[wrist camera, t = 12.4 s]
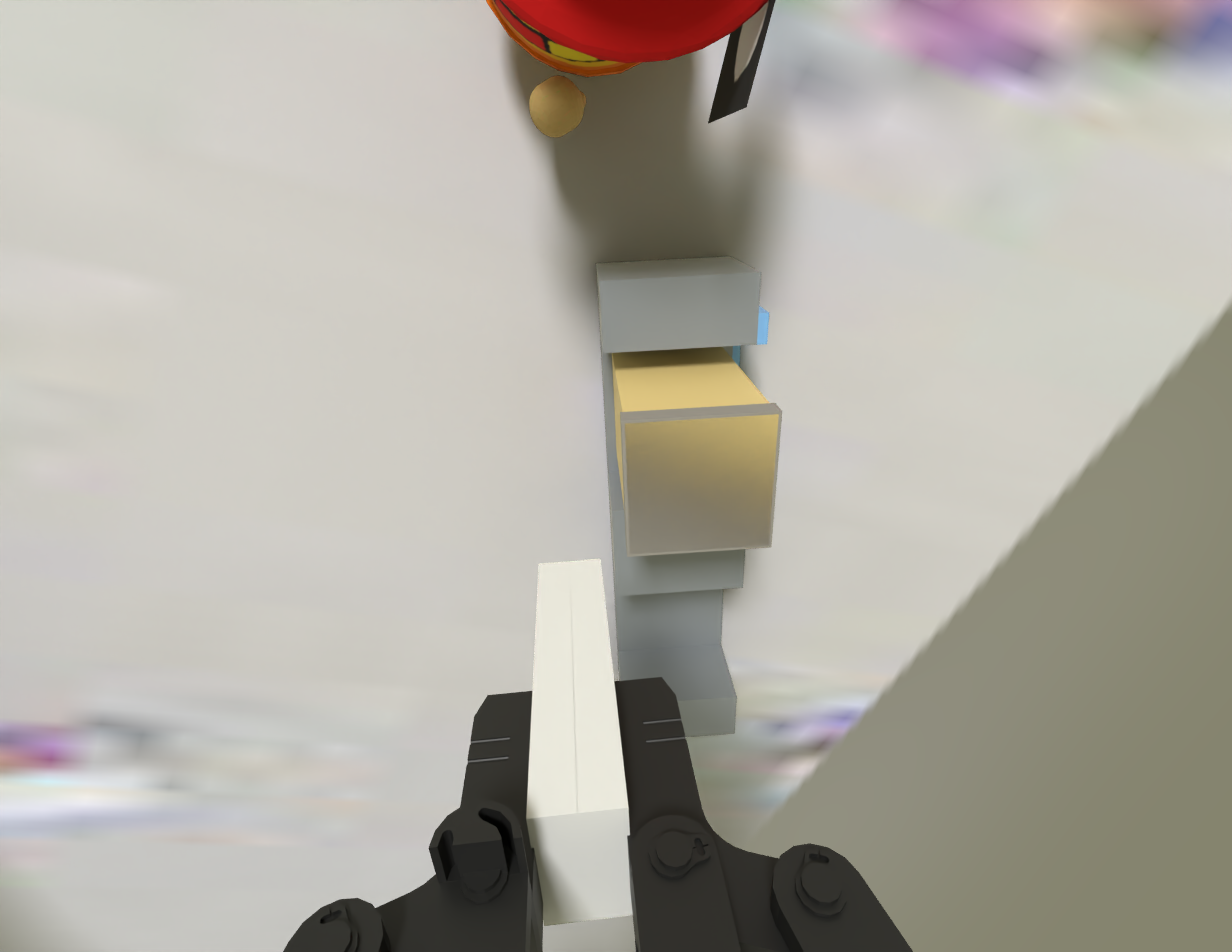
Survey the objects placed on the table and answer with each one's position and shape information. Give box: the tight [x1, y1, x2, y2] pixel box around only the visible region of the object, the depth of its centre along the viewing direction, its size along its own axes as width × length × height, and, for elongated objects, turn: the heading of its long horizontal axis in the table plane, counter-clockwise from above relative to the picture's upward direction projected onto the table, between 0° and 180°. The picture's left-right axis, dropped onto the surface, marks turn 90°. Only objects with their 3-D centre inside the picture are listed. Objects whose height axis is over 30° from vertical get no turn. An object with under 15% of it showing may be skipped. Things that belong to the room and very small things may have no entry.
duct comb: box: [596, 256, 769, 737], centre depth 30 cm, size 6×24×5 cm, turn 3°
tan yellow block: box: [612, 347, 782, 557], centre depth 25 cm, size 5×5×9 cm
